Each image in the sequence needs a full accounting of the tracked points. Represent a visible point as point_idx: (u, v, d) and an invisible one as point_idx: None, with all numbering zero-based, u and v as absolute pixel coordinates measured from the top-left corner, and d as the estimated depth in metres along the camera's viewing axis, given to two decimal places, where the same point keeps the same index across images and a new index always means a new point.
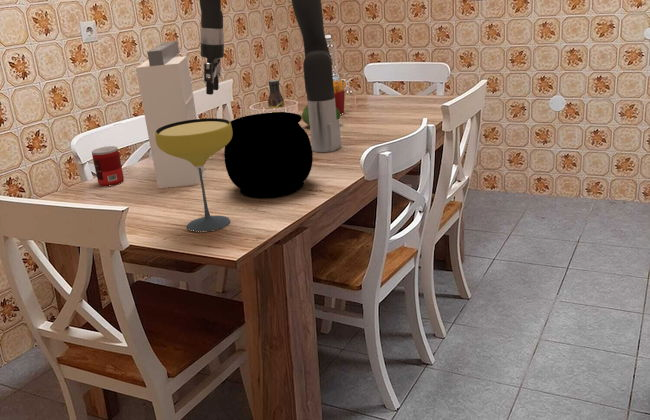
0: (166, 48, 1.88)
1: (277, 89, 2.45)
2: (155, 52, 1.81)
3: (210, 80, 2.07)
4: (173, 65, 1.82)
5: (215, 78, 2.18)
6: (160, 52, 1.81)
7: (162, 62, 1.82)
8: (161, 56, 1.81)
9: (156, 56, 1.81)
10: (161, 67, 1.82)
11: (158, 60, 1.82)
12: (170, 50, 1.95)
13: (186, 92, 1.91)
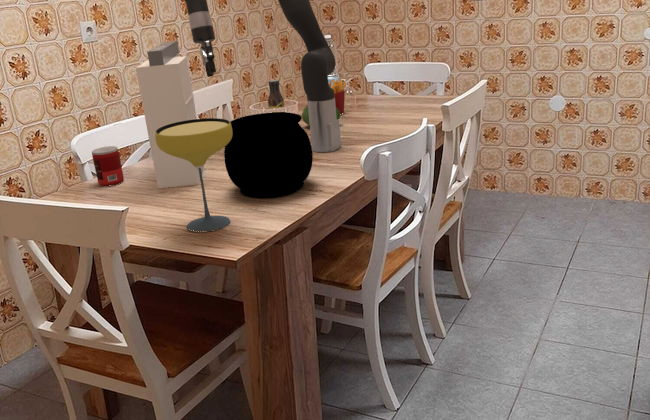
0: (166, 48, 1.88)
1: (277, 89, 2.45)
2: (155, 52, 1.81)
3: (213, 56, 2.15)
4: (173, 65, 1.82)
5: None
6: (160, 52, 1.81)
7: (162, 62, 1.82)
8: (161, 56, 1.81)
9: (156, 56, 1.81)
10: (161, 67, 1.82)
11: (158, 60, 1.82)
12: (170, 50, 1.95)
13: (186, 92, 1.91)
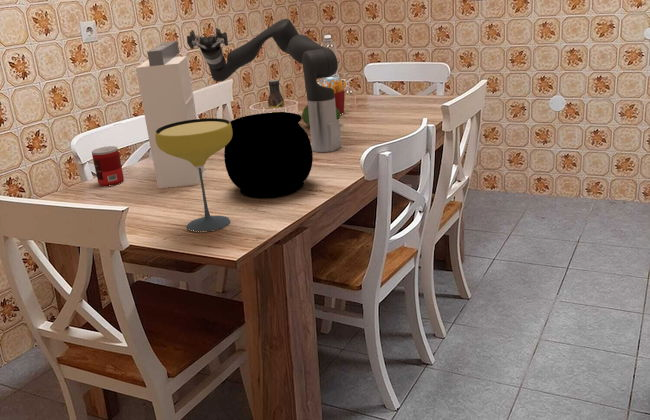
0: (166, 48, 1.88)
1: (277, 89, 2.45)
2: (155, 52, 1.81)
3: (226, 38, 2.31)
4: (173, 65, 1.82)
5: None
6: (160, 52, 1.81)
7: (162, 62, 1.82)
8: (161, 56, 1.81)
9: (156, 56, 1.81)
10: (161, 67, 1.82)
11: (158, 60, 1.82)
12: (170, 50, 1.95)
13: (186, 92, 1.91)
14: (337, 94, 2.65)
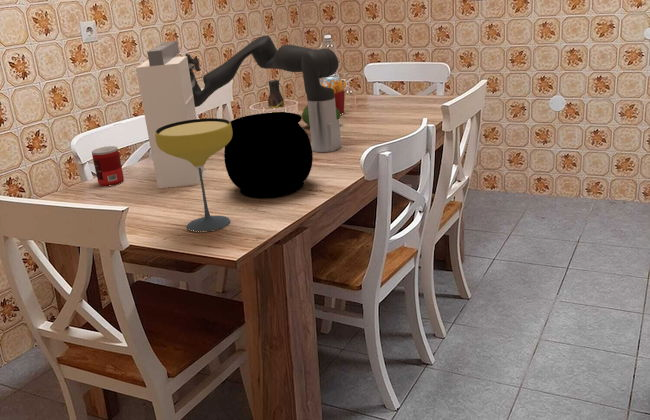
0: (166, 48, 1.88)
1: (277, 89, 2.45)
2: (155, 52, 1.81)
3: (197, 63, 2.18)
4: (173, 65, 1.82)
5: None
6: (160, 52, 1.81)
7: (162, 62, 1.82)
8: (161, 56, 1.81)
9: (156, 56, 1.81)
10: (161, 67, 1.82)
11: (158, 60, 1.82)
12: (170, 50, 1.95)
13: (186, 92, 1.91)
14: (337, 94, 2.65)
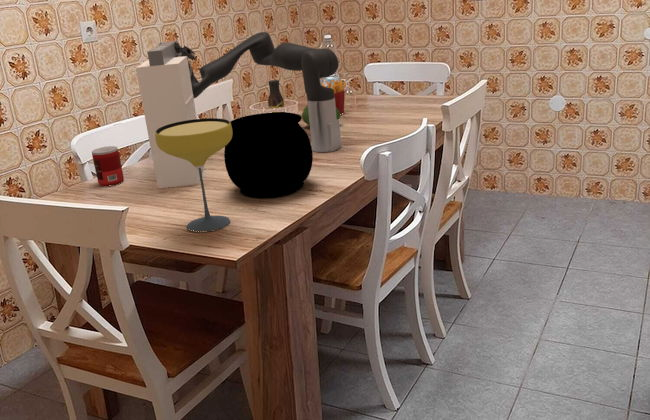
0: (166, 48, 1.88)
1: (277, 89, 2.45)
2: (155, 52, 1.81)
3: (187, 52, 2.07)
4: (173, 65, 1.82)
5: None
6: (160, 52, 1.81)
7: (162, 62, 1.82)
8: (161, 56, 1.81)
9: (156, 56, 1.81)
10: (161, 67, 1.82)
11: (158, 60, 1.82)
12: (170, 50, 1.94)
13: (186, 92, 1.91)
14: (337, 94, 2.65)
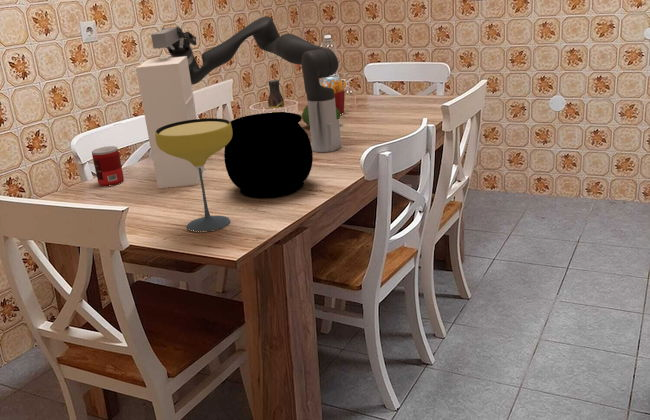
0: (169, 32, 1.96)
1: (277, 89, 2.45)
2: (158, 35, 1.88)
3: (189, 37, 2.15)
4: (173, 65, 1.82)
5: None
6: (163, 35, 1.88)
7: (165, 45, 1.89)
8: (164, 39, 1.89)
9: (159, 39, 1.89)
10: (161, 67, 1.82)
11: (161, 43, 1.89)
12: (173, 34, 2.02)
13: (186, 92, 1.91)
14: (337, 94, 2.65)
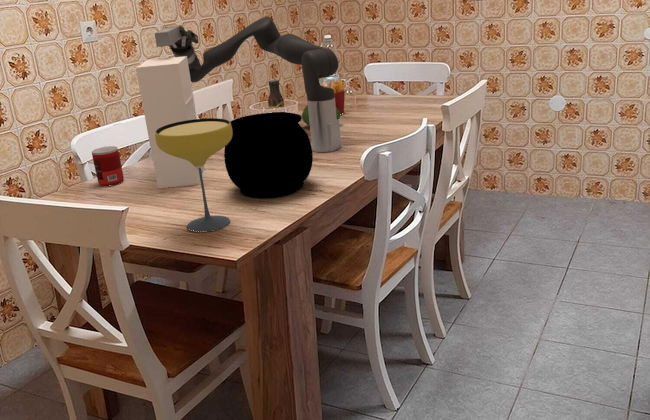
0: (172, 30, 2.01)
1: (277, 89, 2.45)
2: (162, 33, 1.93)
3: (191, 36, 2.19)
4: (173, 65, 1.82)
5: None
6: (166, 33, 1.93)
7: (168, 43, 1.94)
8: (167, 37, 1.93)
9: (163, 37, 1.93)
10: (161, 67, 1.82)
11: (164, 41, 1.94)
12: (175, 33, 2.07)
13: (186, 92, 1.91)
14: (337, 94, 2.65)
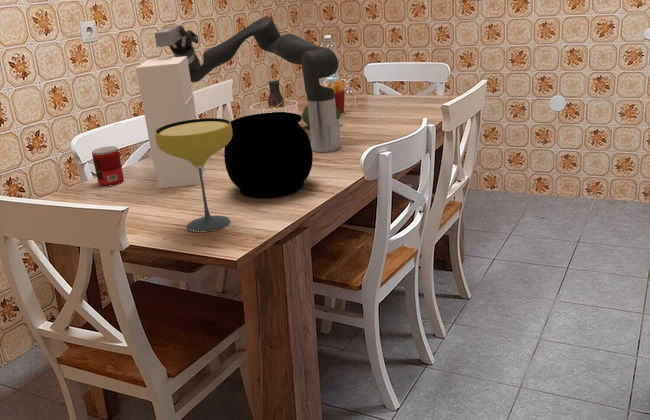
0: (172, 30, 2.01)
1: (277, 89, 2.45)
2: (162, 33, 1.93)
3: (191, 36, 2.19)
4: (173, 65, 1.82)
5: None
6: (166, 33, 1.93)
7: (168, 43, 1.94)
8: (167, 37, 1.93)
9: (163, 37, 1.93)
10: (161, 67, 1.82)
11: (164, 41, 1.94)
12: (175, 33, 2.07)
13: (186, 92, 1.91)
14: (337, 94, 2.65)
